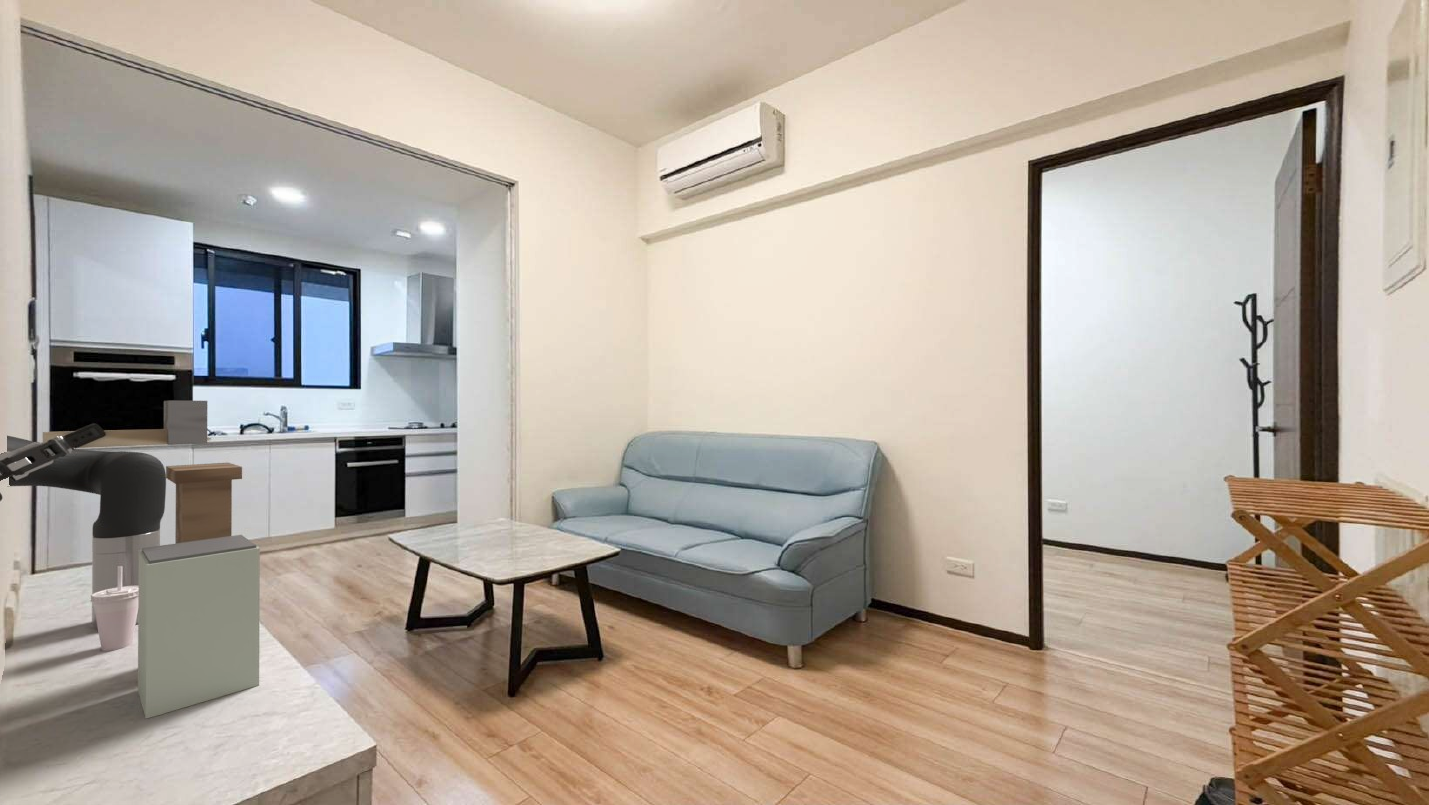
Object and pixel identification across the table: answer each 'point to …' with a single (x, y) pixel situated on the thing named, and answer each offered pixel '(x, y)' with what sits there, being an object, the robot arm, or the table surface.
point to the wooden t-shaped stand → (203, 500)
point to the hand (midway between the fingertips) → (100, 429)
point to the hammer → (180, 427)
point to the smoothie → (116, 614)
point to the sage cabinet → (197, 622)
